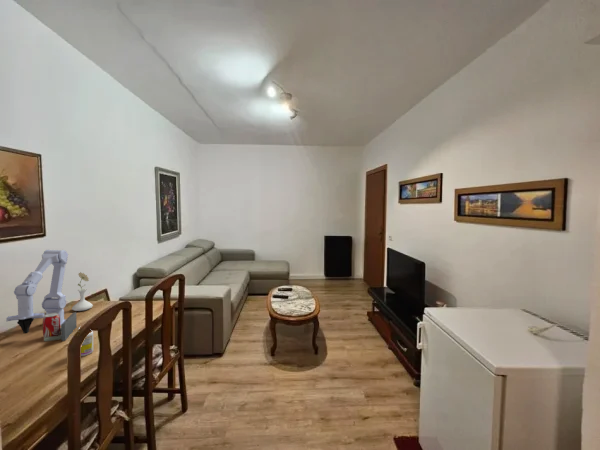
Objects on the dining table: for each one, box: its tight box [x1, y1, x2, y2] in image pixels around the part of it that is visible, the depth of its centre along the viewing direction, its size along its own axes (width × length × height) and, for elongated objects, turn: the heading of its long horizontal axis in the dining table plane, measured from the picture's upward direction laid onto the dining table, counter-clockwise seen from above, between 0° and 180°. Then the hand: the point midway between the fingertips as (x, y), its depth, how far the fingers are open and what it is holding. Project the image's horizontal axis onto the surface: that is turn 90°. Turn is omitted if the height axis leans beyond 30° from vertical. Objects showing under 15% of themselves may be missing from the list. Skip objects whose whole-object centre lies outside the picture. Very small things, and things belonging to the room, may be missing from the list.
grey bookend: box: [43, 311, 77, 342], centre depth 154 cm, size 18×10×9 cm, turn 23°
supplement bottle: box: [78, 326, 94, 357], centre depth 136 cm, size 7×7×13 cm
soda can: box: [42, 313, 61, 339], centre depth 152 cm, size 7×7×12 cm
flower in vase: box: [71, 271, 94, 312], centre depth 192 cm, size 13×11×25 cm
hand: (26, 332), depth 148 cm, fingers closed
